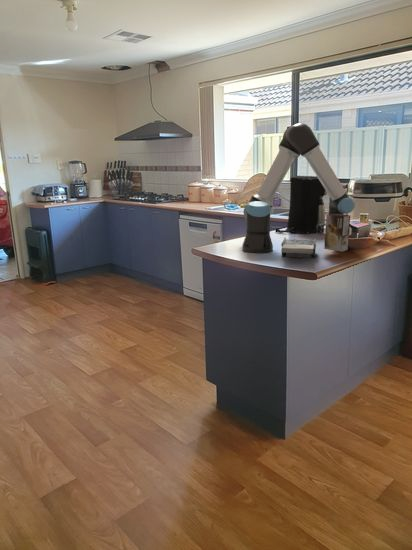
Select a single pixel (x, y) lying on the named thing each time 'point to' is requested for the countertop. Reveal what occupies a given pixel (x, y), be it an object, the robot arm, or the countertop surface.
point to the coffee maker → (305, 205)
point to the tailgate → (297, 248)
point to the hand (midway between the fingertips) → (337, 231)
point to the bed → (300, 242)
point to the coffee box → (337, 232)
